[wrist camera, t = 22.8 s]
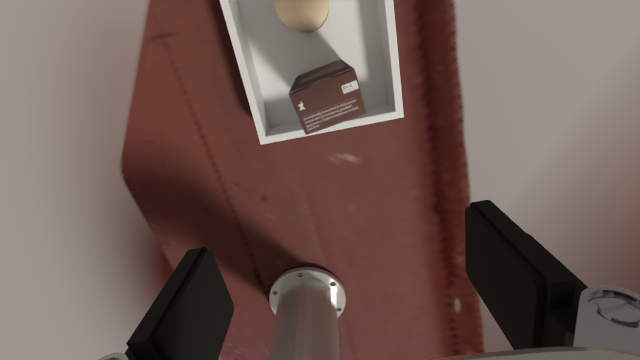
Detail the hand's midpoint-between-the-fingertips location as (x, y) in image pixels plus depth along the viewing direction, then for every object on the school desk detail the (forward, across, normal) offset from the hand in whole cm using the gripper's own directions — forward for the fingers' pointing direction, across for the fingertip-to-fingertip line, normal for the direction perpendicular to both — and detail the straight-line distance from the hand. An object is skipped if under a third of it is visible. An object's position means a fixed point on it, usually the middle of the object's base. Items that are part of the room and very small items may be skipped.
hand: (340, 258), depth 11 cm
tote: (+30, 0, -7) cm, 31 cm away
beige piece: (+30, 0, -11) cm, 32 cm away
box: (+30, 0, -3) cm, 30 cm away
